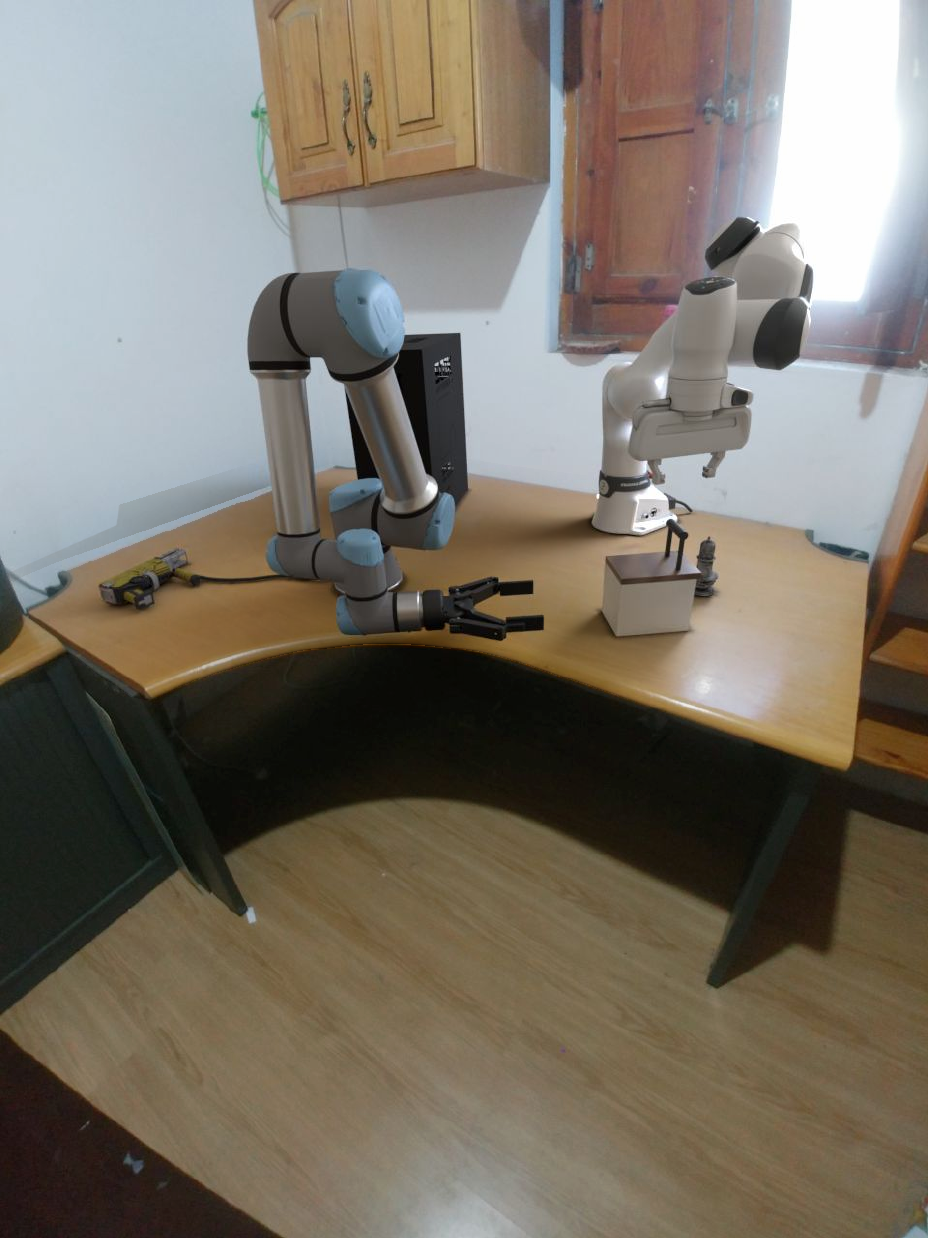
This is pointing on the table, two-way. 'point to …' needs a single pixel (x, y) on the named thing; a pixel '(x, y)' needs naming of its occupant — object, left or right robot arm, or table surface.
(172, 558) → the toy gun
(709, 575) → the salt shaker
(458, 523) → the table surface
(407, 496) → the left robot arm
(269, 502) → the table surface
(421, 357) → the cardboard box
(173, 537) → the table surface
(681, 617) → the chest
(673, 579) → the lid
